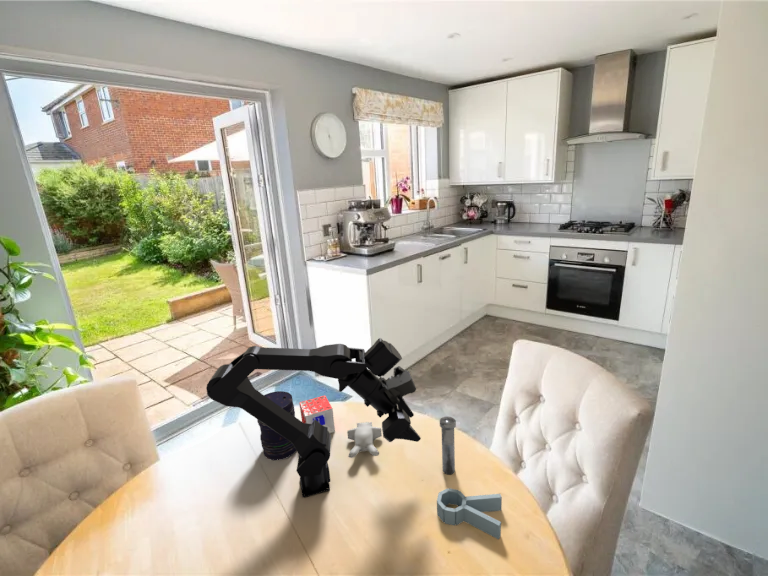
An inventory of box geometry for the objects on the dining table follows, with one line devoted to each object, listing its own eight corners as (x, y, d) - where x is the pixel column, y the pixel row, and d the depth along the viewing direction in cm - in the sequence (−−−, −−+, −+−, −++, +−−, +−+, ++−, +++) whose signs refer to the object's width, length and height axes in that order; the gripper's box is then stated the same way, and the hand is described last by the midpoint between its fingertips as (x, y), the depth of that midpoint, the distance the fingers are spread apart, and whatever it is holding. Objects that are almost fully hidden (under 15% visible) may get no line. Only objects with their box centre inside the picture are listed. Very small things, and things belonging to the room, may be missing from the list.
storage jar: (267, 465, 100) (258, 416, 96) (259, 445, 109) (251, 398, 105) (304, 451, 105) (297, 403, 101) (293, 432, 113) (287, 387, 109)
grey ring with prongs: (434, 525, 80) (434, 512, 79) (441, 495, 87) (440, 482, 87) (500, 540, 76) (500, 526, 75) (501, 507, 83) (501, 493, 82)
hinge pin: (445, 477, 93) (443, 427, 89) (438, 467, 96) (436, 418, 92) (459, 473, 94) (458, 423, 90) (452, 463, 97) (451, 414, 93)
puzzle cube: (327, 417, 119) (325, 395, 117) (335, 431, 112) (332, 408, 110) (302, 425, 116) (299, 402, 114) (308, 440, 109) (304, 416, 107)
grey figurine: (380, 416, 112) (381, 444, 97) (381, 432, 113) (382, 463, 98) (348, 418, 112) (344, 447, 97) (349, 434, 112) (345, 466, 98)
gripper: (400, 384, 78) (451, 429, 82) (390, 346, 95) (432, 385, 99) (361, 420, 79) (413, 463, 83) (358, 376, 97) (401, 413, 101)
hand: (415, 427), depth 91 cm, fingers open, 9 cm apart
